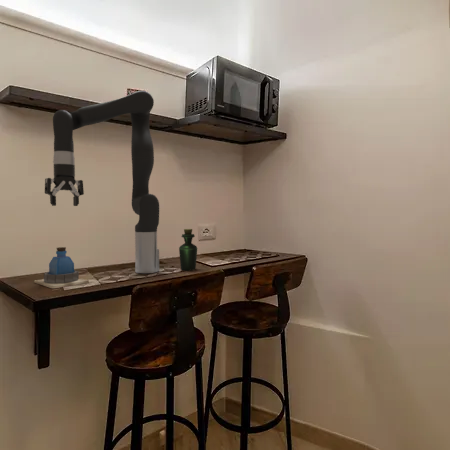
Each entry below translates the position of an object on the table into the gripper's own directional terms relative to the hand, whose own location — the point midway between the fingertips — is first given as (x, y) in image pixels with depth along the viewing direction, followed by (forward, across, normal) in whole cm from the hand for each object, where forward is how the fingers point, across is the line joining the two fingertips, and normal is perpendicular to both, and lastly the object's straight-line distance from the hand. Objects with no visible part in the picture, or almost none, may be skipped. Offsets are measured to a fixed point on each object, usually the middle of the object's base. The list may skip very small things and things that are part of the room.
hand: (65, 205), depth 139 cm
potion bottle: (+28, +44, -23) cm, 57 cm away
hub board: (+28, -6, -9) cm, 30 cm away
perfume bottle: (+28, -6, -9) cm, 30 cm away
